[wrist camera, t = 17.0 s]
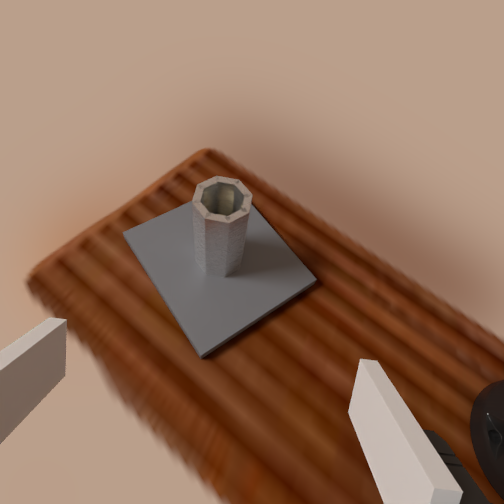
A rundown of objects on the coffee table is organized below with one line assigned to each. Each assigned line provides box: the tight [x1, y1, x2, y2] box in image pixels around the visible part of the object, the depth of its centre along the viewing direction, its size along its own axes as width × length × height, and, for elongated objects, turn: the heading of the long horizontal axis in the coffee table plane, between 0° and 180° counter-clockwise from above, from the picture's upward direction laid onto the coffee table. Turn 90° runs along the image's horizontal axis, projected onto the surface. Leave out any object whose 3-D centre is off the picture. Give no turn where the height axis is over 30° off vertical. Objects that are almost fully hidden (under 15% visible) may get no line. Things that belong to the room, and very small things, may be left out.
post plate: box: [123, 201, 317, 359], centre depth 44 cm, size 20×18×10 cm
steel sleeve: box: [192, 176, 252, 278], centre depth 42 cm, size 6×6×12 cm
